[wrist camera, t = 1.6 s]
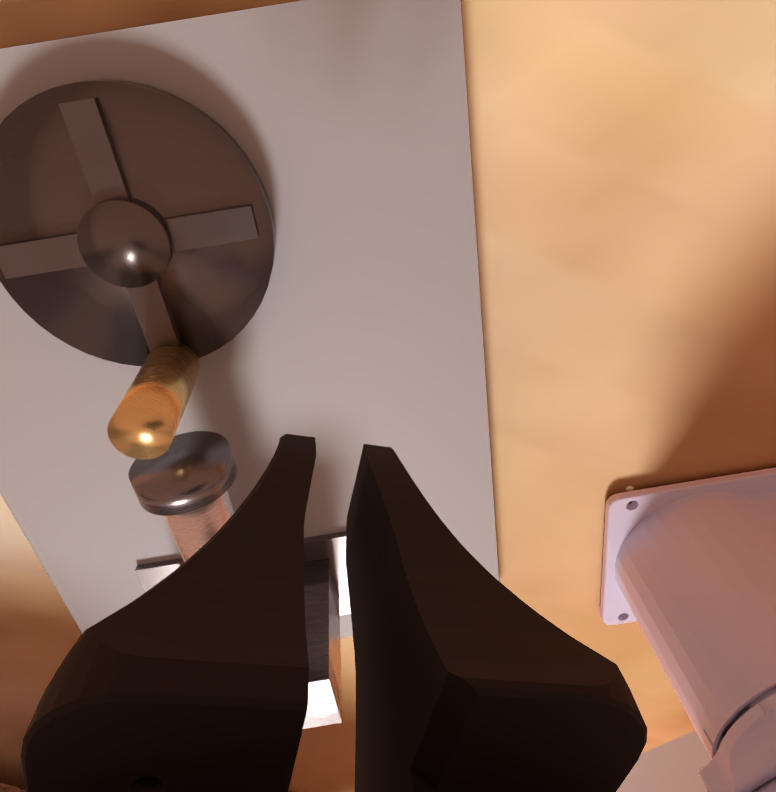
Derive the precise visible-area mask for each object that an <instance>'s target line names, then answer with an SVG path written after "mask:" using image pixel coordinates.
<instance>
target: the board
mask: <svg viewBox="0 0 776 792" xmlns="http://www.w3.org/2000/svg"><path fill="white" fill-rule="evenodd" d="M103 79H109V80H126V81H131V82H136V83H141V84H146V85H150V86H153V87H155V88H158V89H161V90H164V91H167V92H169V93H172V94H174V95H176V96H178V97H180V98H182V99H184V100H186V101H188V102H189V103H191V104H192V105H194V106H196V107H197V108H199V109H200V110H202V111H203V112H205V113H206V114H207V115H209V116H210V117H211V118H212V119H214V120H215V121H216V122H217V123H218V124H220V125H221V126H222V127H223V128H224V129H225V130H226V131H227V132H228V133H229V134H230V135H231V136H232V137H233V138H234V140H235V141H236V142H237V143H238V144H239V146H240V147H241V148H242V150H243V151H244V152H245V153H246V155H247V156H248V157H249V159H250V161H251V162H252V164H253V166H254V168H255V169H256V171H257V173H258V174H259V176H260V179H261V181H262V183H263V185H264V188H265V190H266V192H267V195H268V199H269V202H270V205H271V209H272V213H273V219H274V225H275V243H276V247H275V257H274V264H273V268H272V273H271V277H270V281H269V284H268V288H267V290H266V293H265V295H264V298H263V300H262V303H261V304H260V306H259V308H258V310H257V311H256V313H255V315H254V316H253V318H252V319H251V320H250V321H249V323H248V324H247V325H246V326H245V328H244V329H243V330H242V331H241V332H240V333H239V334H237V335H236V336H235V337H234V338H233V339H232V340H231V341H229V342H228V343H226V344H225V345H224V346H222V347H221V348H219V349H217V350H215V351H214V352H212V353H210V354H208V355H206V356H203V357H201V358H198V359H199V362H200V372H199V375H198V378H197V380H196V383H195V385H194V388H193V390H192V393H191V395H190V398H189V400H188V403H187V405H186V408H185V410H184V413H183V415H182V418H181V420H180V423H179V425H178V428H177V430H176V433H175V435H179V434H183V433H187V432H194V431H210V432H215V433H218V434H220V435H222V436H224V437H225V438H226V439H227V440H228V443H229V445H230V448H231V451H232V454H233V458H234V461H235V464H236V467H237V476H236V479H235V481H234V483H233V484H232V486H231V487H230V488H229V489H228V490H227V491H228V494H229V497H230V500H231V503H232V506H233V509H234V512H235V511H236V510H237V509H238V508H239V506H240V505H241V504H242V502H243V501H244V500H245V499H246V497H247V496H248V495H249V494H250V492H251V491H252V489H253V488H254V487H255V485H256V484H257V482H258V481H259V479H260V478H261V476H262V474H263V473H264V471H265V470H266V468H267V467H268V465H269V463H270V461H271V459H272V457H273V456H274V453H275V451H276V449H277V446H278V444H279V440H280V437H282V436H283V435H285V434H293V435H300V436H308V437H315V441H316V459H315V465H314V470H313V475H312V480H311V486H310V491H309V496H308V502H307V507H306V512H305V521H304V538H307V537H313V536H319V535H325V534H331V533H337V532H343V531H346V522H347V514H348V510H349V505H350V501H351V497H352V493H353V488H354V484H355V480H356V475H357V471H358V467H359V462H360V458H361V454H362V449H363V445H364V444H369V445H377V446H384V447H392V449H393V450H394V451H395V453H396V454H397V456H398V457H399V459H400V461H401V462H402V464H403V465H404V467H405V469H406V470H407V472H408V473H409V475H410V476H411V478H412V479H413V481H414V482H415V484H416V486H417V487H418V488H419V490H420V491H421V493H422V494H423V496H424V497H425V499H426V500H427V501H428V503H429V504H430V506H431V507H432V508H433V510H434V511H435V512H436V514H437V515H438V516H439V518H440V519H441V520H442V522H443V523H444V524H445V525H446V526H447V528H448V529H449V530H450V531H451V532H452V534H453V535H454V536H455V537H456V538H457V540H458V541H459V542H460V543H461V544H462V545H463V546H464V547H465V548H466V550H467V551H468V552H469V553H470V554H471V555H472V556H473V557H474V558H475V559H476V560H477V561H478V562H479V563H480V564H481V565H482V566H483V567H484V568H485V569H486V570H487V571H488V572H489V573H490V574H492V575H493V576H494V577H495V578H496V579H497V580H498V581H499V574H498V559H497V544H496V529H495V514H494V498H493V483H492V468H491V453H490V438H489V423H488V408H487V393H486V378H485V362H484V347H483V332H482V317H481V302H480V287H479V272H478V257H477V241H476V226H475V211H474V196H473V181H472V166H471V151H470V136H469V120H468V105H467V90H466V75H465V60H464V45H463V30H462V15H461V0H302V1H295V2H289V3H283V4H277V5H270V6H264V7H258V8H252V9H245V10H239V11H233V12H227V13H220V14H214V15H208V16H202V17H195V18H189V19H183V20H177V21H170V22H164V23H158V24H152V25H145V26H139V27H133V28H127V29H120V30H114V31H108V32H102V33H95V34H89V35H83V36H77V37H70V38H64V39H58V40H52V41H45V42H39V43H33V44H27V45H20V46H14V47H8V48H2V49H0V124H1V122H2V121H3V120H4V118H5V117H7V116H8V115H9V114H10V113H11V112H12V111H13V110H14V109H15V108H17V107H18V106H19V105H20V104H22V103H24V102H25V101H27V100H28V99H30V98H32V97H33V96H35V95H37V94H39V93H42V92H44V91H46V90H49V89H51V88H54V87H57V86H62V85H66V84H70V83H74V82H81V81H91V80H103ZM141 367H142V366H133V365H125V364H120V363H116V362H111V361H107V360H104V359H101V358H98V357H95V356H92V355H89V354H87V353H84V352H82V351H80V350H78V349H76V348H74V347H72V346H70V345H68V344H66V343H65V342H63V341H61V340H60V339H58V338H56V337H55V336H53V335H52V334H51V333H49V332H48V331H46V330H45V329H44V328H42V327H41V326H40V325H38V324H37V323H36V322H35V321H34V320H33V319H32V318H31V317H30V316H29V315H28V314H26V313H25V312H24V311H23V310H22V308H21V307H20V306H19V305H18V304H17V303H16V302H15V301H14V299H13V298H12V297H11V296H10V295H9V293H8V292H7V290H6V289H5V288H4V286H3V285H2V283H1V282H0V494H1V495H2V497H3V499H4V501H5V502H6V504H7V506H8V507H9V509H10V511H11V512H12V514H13V516H14V518H15V519H16V521H17V523H18V524H19V526H20V528H21V530H22V531H23V533H24V535H25V536H26V538H27V540H28V542H29V543H30V545H31V547H32V548H33V550H34V552H35V554H36V555H37V557H38V559H39V560H40V562H41V564H42V566H43V567H44V569H45V571H46V572H47V574H48V576H49V577H50V579H51V581H52V583H53V584H54V586H55V588H56V589H57V591H58V593H59V595H60V596H61V598H62V600H63V601H64V603H65V605H66V607H67V608H68V610H69V612H70V613H71V615H72V617H73V619H74V620H75V622H76V624H77V625H78V627H79V629H80V631H81V632H82V634H83V632H84V631H85V630H86V629H87V628H89V627H91V626H93V625H95V624H96V623H98V622H99V621H101V620H103V619H104V618H106V617H108V616H109V615H111V614H113V613H114V612H116V611H118V610H119V609H121V608H123V607H124V606H126V605H128V604H129V603H131V602H132V601H134V600H135V599H137V598H138V597H140V596H141V595H143V594H144V593H145V591H144V589H143V586H142V584H141V582H140V580H139V578H138V576H137V574H136V572H135V569H136V567H137V565H141V564H147V563H154V562H160V561H166V560H172V559H178V558H182V556H181V553H180V551H179V549H178V546H177V544H176V542H175V539H174V537H173V534H172V532H171V530H170V527H169V525H168V523H167V520H166V518H165V516H161V515H155V514H152V513H149V512H147V511H145V510H144V509H143V508H142V507H141V505H140V503H139V501H138V498H137V496H136V494H135V492H134V489H133V487H132V485H131V483H130V480H129V475H128V474H129V470H130V467H131V465H132V464H133V462H134V461H135V460H136V459H134V458H131V457H128V456H126V455H124V454H122V453H121V452H119V451H118V450H117V449H116V448H115V447H114V446H113V445H112V443H111V442H110V440H109V437H108V433H107V428H108V423H109V421H110V419H111V418H112V416H113V414H114V412H115V411H116V409H117V407H118V406H119V404H120V402H121V401H122V399H123V397H124V396H125V394H126V392H127V390H128V389H129V387H130V385H131V384H132V382H133V380H134V379H135V377H136V375H137V373H138V372H139V370H140V368H141ZM175 435H174V436H175ZM350 636H353V631H352V621H351V614H346V615H340V638H344V637H350Z"/></svg>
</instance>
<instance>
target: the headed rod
mask: <svg viewBox="0 0 776 792" xmlns="http://www.w3.org/2000/svg"><path fill="white" fill-rule="evenodd" d="M128 475H129V480H130V483H131V485H132V487H133V489H134V492H135V494H136V496H137V498H138V501H139V503H140V505H141V507H142V508H143V509H144V510H145V511H147V512H149V513H152V514H155V515H161V516H165V518H166V520H167V523H168V525H169V527H170V530H171V532H172V534H173V537H174V539H175V542H176V544H177V546H178V549H179V551H180V553H181V556H182V558H183V561H184V562H186V561H187V560H188V559H189V558H190V557H191V556H192V555H193V554H195V553H196V552H197V551H198V550H199V549H200V548H201V547H202V546H203V545H204V544H206V543H207V542H208V541H209V540H210V539H211V538H212V537H213V536H214V535H215V534H216V532H217V531H218V530H219V529H220V528H221V527H222V526H223V525H224V524H225V523H226V522H227V521H228V520H229V518H230V517H231V516H232V515H233V514H234V513H235V512H234V509H233V506H232V503H231V500H230V497H229V494H228V491H227V490H228V489H229V488H230V487H231V486H232V484H233V483H234V481H235V479H236V476H237V467H236V464H235V461H234V458H233V454H232V451H231V448H230V445H229V443H228V440H227V439H226V438H225V437H224V436H222V435H220V434H218V433H215V432H210V431H194V432H187V433H183V434H179V435H175V436H174V438H173V440H172V443H171V445H170V447H169V449H168V450H167V451H166V452H165V453H164V454H162V455H161V456H159V457H157V458H154V459H148V460H140V459H136V460H135V461H134V462H133V464H132V465H131V467H130V470H129V474H128Z"/></svg>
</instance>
